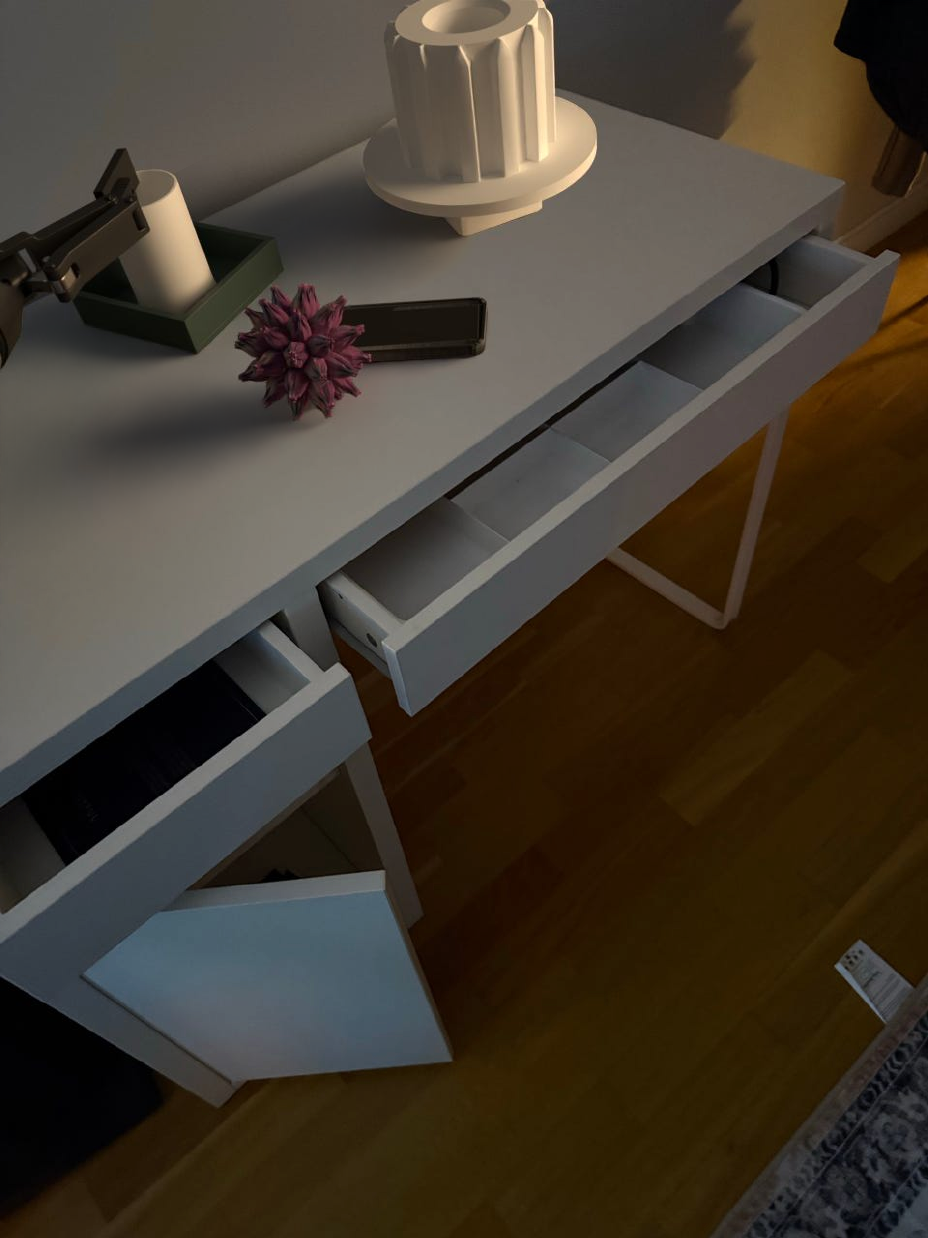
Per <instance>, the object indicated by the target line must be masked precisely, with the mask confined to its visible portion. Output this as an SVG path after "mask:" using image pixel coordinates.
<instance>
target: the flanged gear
mask: <svg viewBox="0 0 928 1238" xmlns="http://www.w3.org/2000/svg"><path fill="white" fill-rule="evenodd" d="M553 19H554V18H553V15H552V13H551V11H549V10H548V8H547V7H546V4H545V2H544V0H417V1H416V2H414V3H412V4H411V5H409V4H405V5H404V6H402V8H401V9H400V10H399V13H398V16H397V17H396V20H390V21H388V23H387V24H386V27H385V30H384V33H383V43H384V49H385V56H386V61H387V62H386V63H387V68H388V74H389V75H388V76H389V80H390V87H391V93H392V98H393V105H394V110H395V117H393V118H392V119H390V120H388V121H387V122H386V123H385V124H383V125H382V126H381V127H380V128H379V129H378V130H377V131H376V132H375V133H374V134H373V135H372V136H371V137H370V139H369V140H368V142H367V144H366V145H365V148H364V150H363V153H362V165H363V171H364V175H365V179H366V183H367V184H368V185H367V186H368V187H369V189H371V191H372V192H373V193H374V194H375V195H376V196H377V197H378V198H380V199H381V200H383V201H384V202H386V203H387V204H390V205H391V206H394V207H396V208H398V209H400V210H404V211H406V212H411V213H413V214H414V213H415V214H419V215H424V216H431V217H440V218H441V217H442V218H443V219H445V221H446V222H447V223H448V224H449V225H450V227H452V228H453V229H454V231H455V232H456V233H457V234H458V235H460V236H462V237H469V236H472V235H474V234H475V235H476V234H477V233H481V232H483V231H487V230H489V229H492V228H494V227H498V226H500V225H503V224H507V223H509V222H512V221H514V220H518V219H521V218H523V217H526V216H528V215H531V214H534V213H537V212H539V211H540V210H542V209H543V201H545V200H547V199H549V198H552V197H554V196H556V195H558V194H560V193H561V192H563V191H564V190H566V189H569V187H571V186H572V185H574V184H575V183H576V182H578V180H580V179H581V178H582V177H583V176H584V175H585V174H586V173H587V171H588V170H589V169H590V168H591V166H592V164H593V162H594V161H595V158H596V155H597V149H598V148H597V147H598V143H597V142H598V141H597V140H598V134H597V127H596V125H595V122H594V120H593V118H592V117H591V116H590V115H589V114H588V113H587V112H586V110H584V109H583V108H581V107H580V106H578V105H577V104H576V103H573V102H572V101H570V100H567V99H565V98H562V97H559V96H556V87H555V86H556V85H555V54H554V53H555V50H554V47H555V45H554V20H553Z"/></svg>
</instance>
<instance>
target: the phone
mask: <svg viewBox="0 0 928 1238" xmlns="http://www.w3.org/2000/svg"><path fill="white" fill-rule="evenodd" d="M488 312H489V311H488V302H487V300H486V299H485V298H483V297H480V296H472V297H457V298H441V299H426V300H411V301H409V300H408V301H395V302H393V301H392V302H379V303H362V304H349V305H348V304H347V305H345V306H344V308H343V314H342V320H341V322H340V324H339V326H342V325H348V326H358V325H364V327H363V328H364V332H363V333H361V335H359V336H357V338H356V339H355V340H354V342H353V343H352V344H351V345H350V346H353V347H355V348H357V349H359V350H360V351H362V352H363V353H366V354H371V362H385V361H401V360H403V361H405V360H421V359H422V360H423V359H437V358H440V359H441V358H456V357H459V358H460V357H473V356H474V357H475V356H478V355H480V354H482V353H483V352H484V351H485V350H486V343H487V329H488V315H489V313H488Z"/></svg>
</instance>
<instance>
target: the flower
mask: <svg viewBox="0 0 928 1238" xmlns="http://www.w3.org/2000/svg"><path fill="white" fill-rule="evenodd" d="M297 285H298V286H297V292H296V293H295V295H294V296H293V298H292V299H290V298H289V296H287V295H286V294H284V293H283V292H282V291H281V290H280V288H279V286H278V285H277V284H274V285H272V286H269V290H270V294H271V300H270V302H269V300H267V298H265V297H262V298H258V302H257V303H258V305H259V306H260V308H261V310H262V311H257V310H253V309H251V308H250V307H248V306H247V307H245V309H244V311H243V313H244V314H245V316H247V317H248V318H249V320H250V322H251V324H252V328H251V329H250V331H247V332H242V331H238V334H237V338H236V340H235V341H234V344H233V346H234V348H233V349H237V350H241V351H243V352H244V353H246V354H247V355H248V356H250V357H251V358H255V359H253V360H252V361H251V362H250V363H249V364H248V366H247V368H246V369H245V370H244V371H243V372H241V373H239V374H238V375H237V379H238V381H241V382H242V383H246V382H255V383H264V382H266V383H265V390H264V395H263V397H262V398H261V400H260V403H261V405H263V406H264V409H268V408H269V407H270V406H272V405H273V403H276V402H278V401H280V400H282V399H283V398H285V396H286V401H287V405H288V406H289V409H290V411H291V421H292V422H296V421H297V422H299V421H301V417H302V416H303V414H304V411H305V410H306V408H307V407H308V405H309V403H311V404H312V405H313V406H314V407H315V408H316V409H317V410H318V411H319V412H321V413H322V415H323V417H324V419H327V420H328V418H332V417H333V413H332V410H333V409H335V402H334V400H335V401H338V402H339V401H342V400H343V398H344V397H345V395H344V394H348V395H350V396H352V397H354V398H356V399H357V398H358V396H359V395H361V394H362V391H361V390H360V389H359V388H358V387H357V386H356V385H355V384H354V382H353V380H352V378H357V376H358V375H359V370H363V368H364V367H363V366H364V363H371V362H372V361H371V354H366V353H363V352H362V351H360V350H359V349H357V348H355V347H353V346H350V345H351V344H352V343H353V342H354V340H355V339H356V338H357V336H359V335H361V333H363V332H364V328H363V327H364V325H358V326H348V325H342V326H339V324H340V322H341V320H342V314H343V308H344V306H346V304H347V303H348V299H347V298H345V297H344V295H342V294H341V295H339V296H338V297H337V299H336V300H334V301H331V302H328V303H326V304H324V305H322V306H321V307H320V302H319V298H318V297H317V294H316V285H315V283H312V284H310V283H307V282H306V283H302V282H300V283H299V284H297Z"/></svg>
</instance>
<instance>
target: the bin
mask: <svg viewBox="0 0 928 1238" xmlns="http://www.w3.org/2000/svg"><path fill="white" fill-rule="evenodd" d="M192 223H193V225H194V228H195V231H196V234H197V236H198V239H199V242H200V244H201V247H202V250H203V253H204V255H205V258H206V261H207V263H208V266H209V269H210V271H211V274H212V276H213V278H214V280H215V281H216V283H217V285H216V286H215V287H214V288H213V289H212V290H210V291H209V292H208V293H207V294H206V295H205V296H204V297H203V298H202V299H201V300H200V301H199V302H198V303H196V304H195V305H194V306H193V307H192V308H191V309H190V310H189V311H188V312H187V313H186V314H185V315H184V316H181V315H177V314H173V313H169V312H165V311H161V310H157V309H153V308H149V307H145V306H141V305H139V304H138V300H137V298H136V295H135V293H134V291H133V288H132V286H131V284H130V282H129V280H128V277H127V275H126V273H125V271H124V268H123V266H122V264H121V262H120V259H119V257H118V258H116V259H115V260H114V261H113V262H111V263H110V264H109V265H108V266H106V267H105V268H104V269H103V270H101V271H100V272H99V273H98V274H96V275H95V276H94V277H93V278H92V279H90V280H89V281H88V282H87V283H85V284H84V286H83V287H82V289H81V290H80V292H79V293H78V295H77V296H76V297H75V299H74V300H72V301H71V302H72V303H73V306H74V307H75V309H76V311H77V313H78V315H79V316H80V317H79V318H80V319H81V321H82V323H83V325H86V326H89V327H92V328H97V329H101V330H104V331H107V332H112V333H115V334H118V335H119V334H120V335H123V336H127V337H131V338H135V339H138V340H142V341H146V342H150V343H153V344H157V345H160V346H161V345H162V346H164V347H169V348H172V349H176V350H180V351H184V352H187V353H191V354H195V355H199V354H200V353H201V352H202V351H203V350H204V349H205V348H206V347H207V346H208V345H209V344H210V343H211V342H212V341H213V340H214V339H215V338H216V337H218V335H219V334H220V333H221V332H222V331H224V330H225V328H226V327H227V326H229V324H231V323H232V321H234V320H235V319H236V318H237V317H238V316H239V315H240V314H241V313H242V312H244V311H245V307H248V306H249V305H250V304H251V303H252V302H253V301H254V300H255V299H256V298H257V297H258V296H260V294H261V293H262V292H263V291H264V290H266V288H267V287H268V286H270V284H272V283H273V281H275V280H276V279H277V278H278V277H279V276H280V275H281V274H282V273H283V272H284V271H285V266H284V262H283V260H282V256H281V253H280V249H279V246H278V242H277V239H276V236H272V235H266V234H261V233H255V232H250V231H246V230H240V229H237V228H236V229H235V228H230V227H226V226H220V225H216V224H211V223H205V222H199V221H195V220H192Z"/></svg>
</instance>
